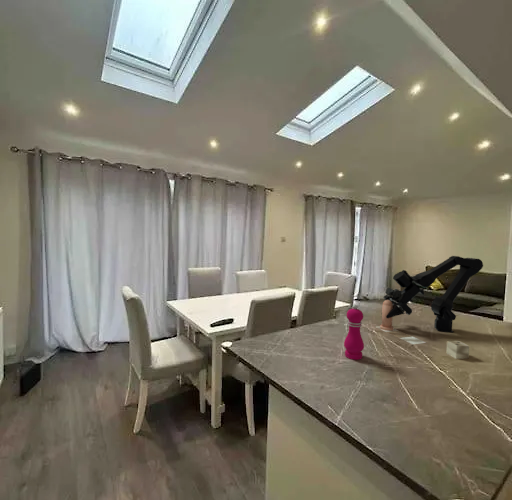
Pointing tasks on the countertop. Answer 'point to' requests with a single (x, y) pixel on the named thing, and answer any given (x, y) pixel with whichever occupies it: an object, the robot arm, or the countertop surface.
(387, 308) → the tan knob handle
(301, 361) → the countertop surface
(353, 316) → the pepper mill
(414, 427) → the countertop surface
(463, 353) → the die
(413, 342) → the board
